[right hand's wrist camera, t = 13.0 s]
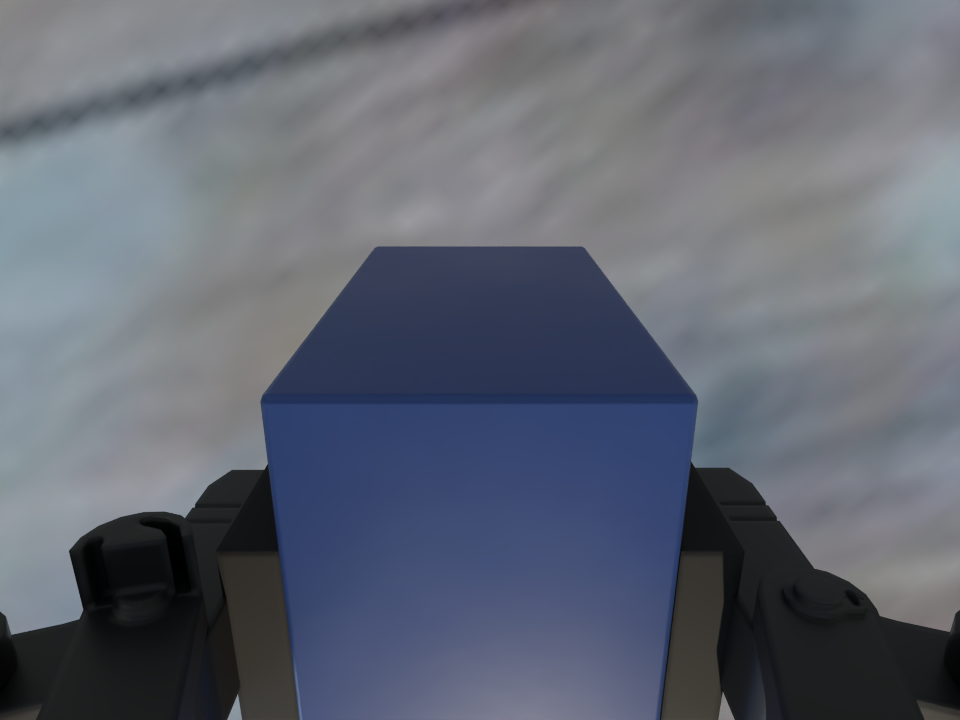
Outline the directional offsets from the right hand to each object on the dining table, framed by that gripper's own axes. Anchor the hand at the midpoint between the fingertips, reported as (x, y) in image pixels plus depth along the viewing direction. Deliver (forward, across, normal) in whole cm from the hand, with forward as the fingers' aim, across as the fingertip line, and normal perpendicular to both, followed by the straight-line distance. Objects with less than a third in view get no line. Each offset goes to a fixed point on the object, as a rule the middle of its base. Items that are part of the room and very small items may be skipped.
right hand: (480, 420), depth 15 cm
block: (+2, 0, 0) cm, 2 cm away
